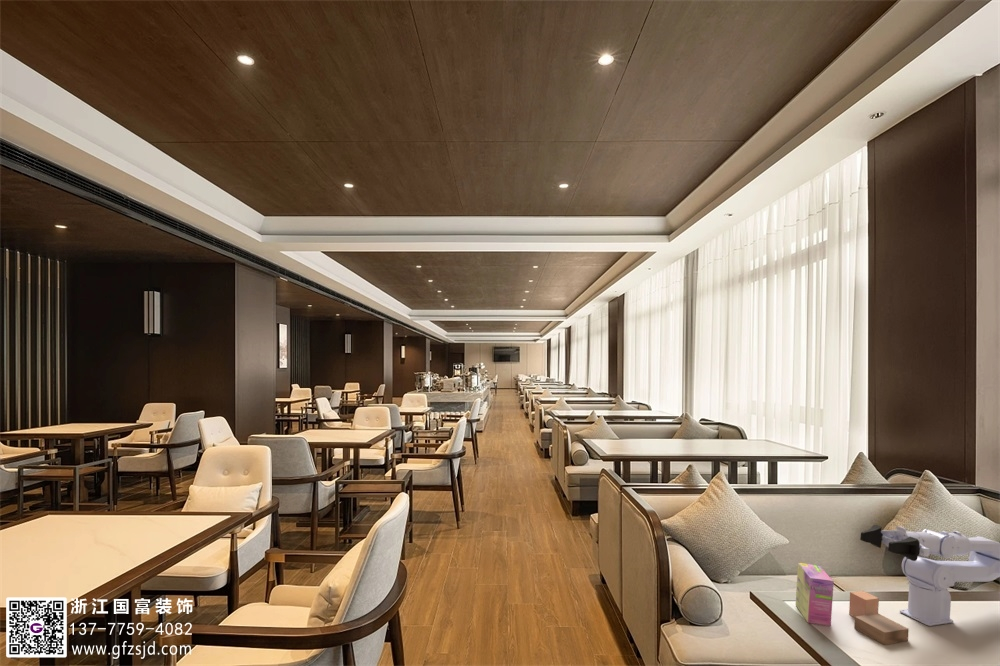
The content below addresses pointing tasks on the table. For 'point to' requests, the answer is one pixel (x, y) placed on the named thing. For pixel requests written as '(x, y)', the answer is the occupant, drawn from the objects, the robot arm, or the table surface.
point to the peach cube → (863, 604)
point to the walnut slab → (881, 629)
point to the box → (814, 594)
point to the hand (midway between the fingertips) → (875, 541)
